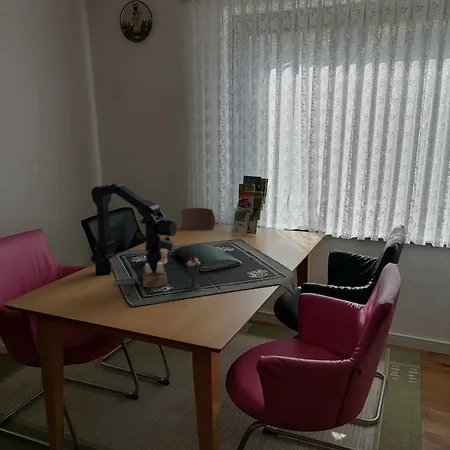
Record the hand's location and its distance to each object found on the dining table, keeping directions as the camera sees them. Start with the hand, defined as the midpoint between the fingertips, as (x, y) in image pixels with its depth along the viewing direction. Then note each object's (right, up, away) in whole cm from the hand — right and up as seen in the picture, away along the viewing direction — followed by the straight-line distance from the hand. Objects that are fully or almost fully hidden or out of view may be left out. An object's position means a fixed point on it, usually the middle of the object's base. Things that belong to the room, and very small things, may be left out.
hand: (154, 269), depth 182 cm
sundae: (+17, -7, -6) cm, 20 cm away
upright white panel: (0, -4, +1) cm, 4 cm away
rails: (-12, -6, -1) cm, 13 cm away
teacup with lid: (-1, +1, +26) cm, 26 cm away
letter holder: (+13, +17, +91) cm, 94 cm away
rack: (0, -5, +1) cm, 5 cm away
